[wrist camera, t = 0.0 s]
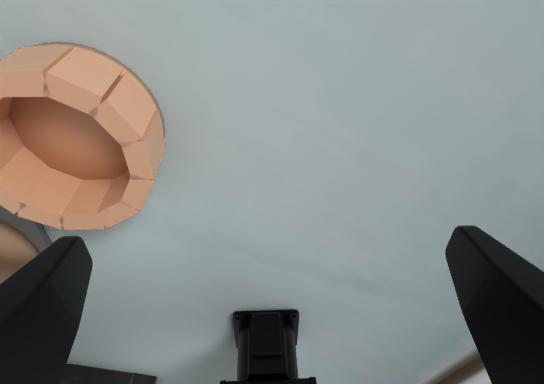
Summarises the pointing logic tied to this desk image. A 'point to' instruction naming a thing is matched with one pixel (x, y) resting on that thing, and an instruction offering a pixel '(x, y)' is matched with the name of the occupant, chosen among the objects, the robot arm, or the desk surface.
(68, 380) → the disk drive
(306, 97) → the desk surface
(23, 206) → the bowl
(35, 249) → the lid
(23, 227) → the trivet
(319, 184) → the desk surface
